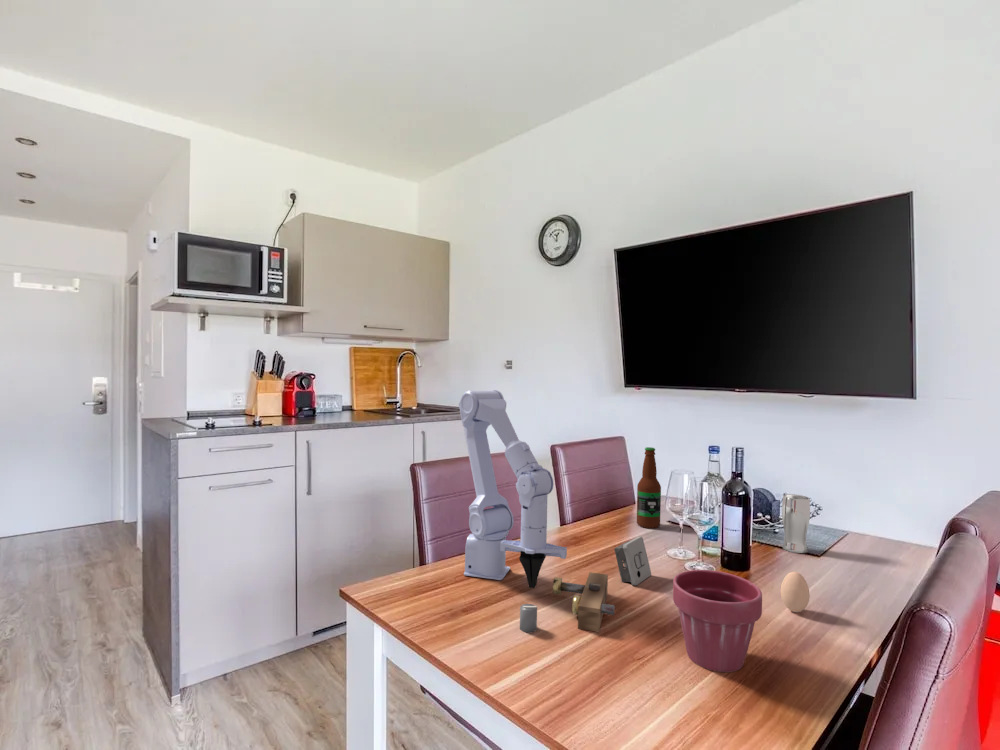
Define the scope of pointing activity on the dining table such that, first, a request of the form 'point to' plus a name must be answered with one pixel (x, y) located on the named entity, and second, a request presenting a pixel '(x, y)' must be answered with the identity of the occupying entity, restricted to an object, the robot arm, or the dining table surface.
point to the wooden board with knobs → (592, 602)
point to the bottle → (649, 493)
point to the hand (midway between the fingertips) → (532, 586)
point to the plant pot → (716, 617)
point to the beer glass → (795, 522)
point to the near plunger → (604, 607)
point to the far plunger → (566, 587)
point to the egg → (795, 592)
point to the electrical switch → (633, 561)
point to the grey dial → (528, 618)
